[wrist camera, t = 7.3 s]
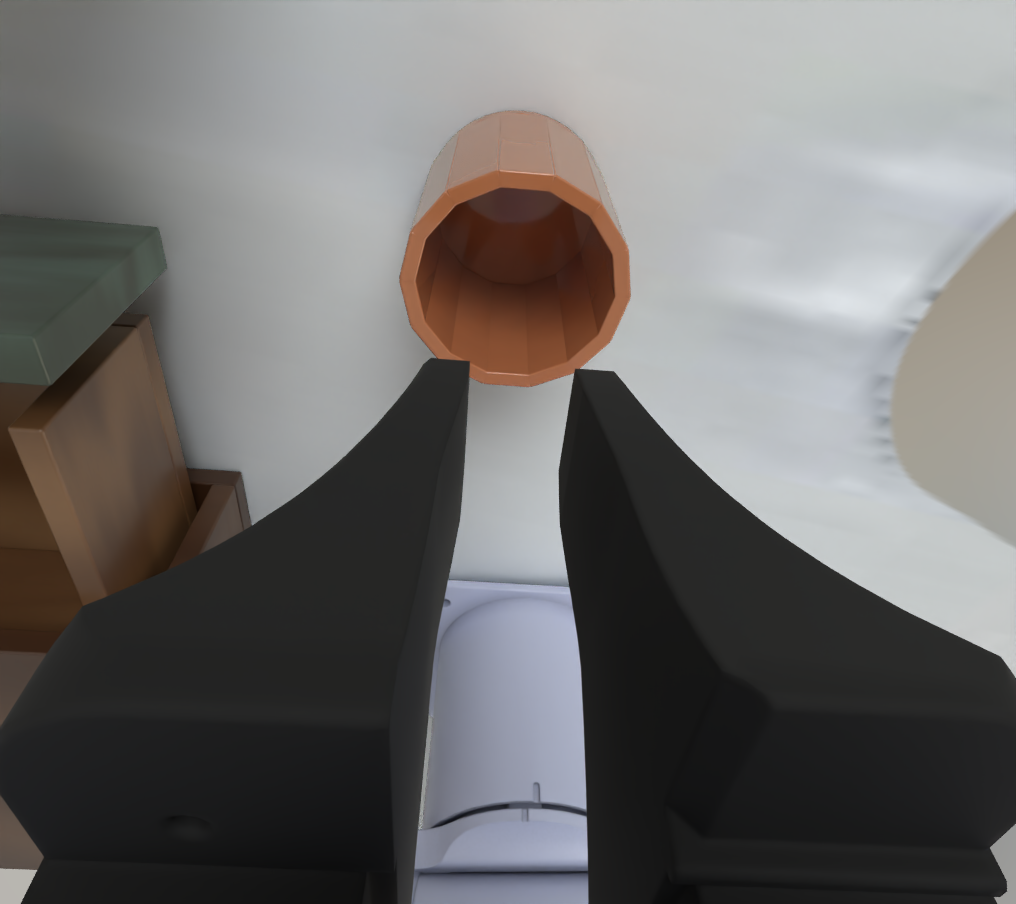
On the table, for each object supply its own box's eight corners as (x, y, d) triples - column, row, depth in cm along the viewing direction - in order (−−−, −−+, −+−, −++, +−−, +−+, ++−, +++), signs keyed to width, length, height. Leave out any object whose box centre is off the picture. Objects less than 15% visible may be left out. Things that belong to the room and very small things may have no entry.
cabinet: (-108, 448, 25) (-327, 635, 18) (241, 470, 25) (148, 660, 19) (22, 679, 33) (-98, 865, 26) (283, 693, 33) (229, 878, 27)
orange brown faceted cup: (590, 295, 21) (611, 393, 17) (423, 281, 21) (400, 378, 17) (619, 119, 18) (653, 182, 14) (425, 101, 18) (397, 160, 14)
